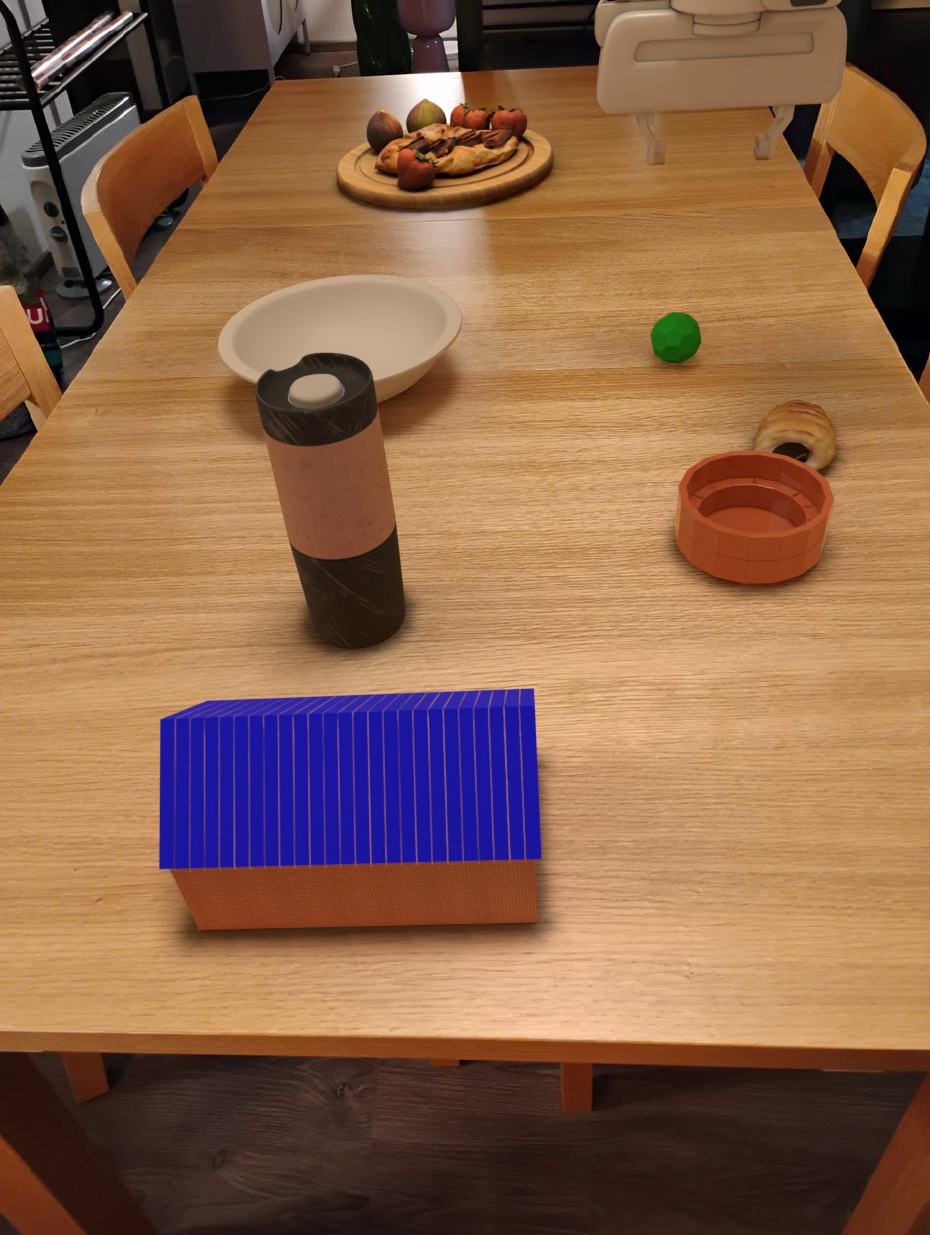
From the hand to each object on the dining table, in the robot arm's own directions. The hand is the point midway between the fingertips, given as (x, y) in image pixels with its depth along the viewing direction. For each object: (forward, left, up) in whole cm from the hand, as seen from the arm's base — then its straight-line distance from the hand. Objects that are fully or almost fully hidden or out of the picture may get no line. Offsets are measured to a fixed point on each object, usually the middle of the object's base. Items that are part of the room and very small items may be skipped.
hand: (709, 160), depth 88 cm
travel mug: (+29, +39, -19) cm, 52 cm away
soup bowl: (+35, +4, -19) cm, 40 cm away
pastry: (-7, +18, -19) cm, 27 cm away
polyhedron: (+2, +1, -19) cm, 19 cm away
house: (+25, +59, -19) cm, 67 cm away
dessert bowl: (-1, +31, -19) cm, 36 cm away
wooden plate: (+30, -58, -19) cm, 68 cm away
